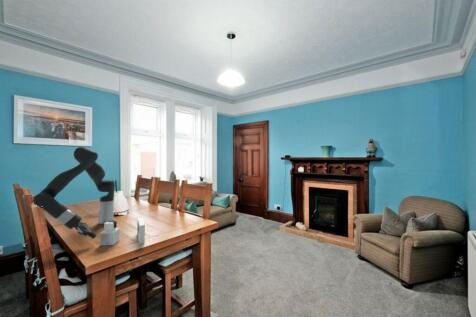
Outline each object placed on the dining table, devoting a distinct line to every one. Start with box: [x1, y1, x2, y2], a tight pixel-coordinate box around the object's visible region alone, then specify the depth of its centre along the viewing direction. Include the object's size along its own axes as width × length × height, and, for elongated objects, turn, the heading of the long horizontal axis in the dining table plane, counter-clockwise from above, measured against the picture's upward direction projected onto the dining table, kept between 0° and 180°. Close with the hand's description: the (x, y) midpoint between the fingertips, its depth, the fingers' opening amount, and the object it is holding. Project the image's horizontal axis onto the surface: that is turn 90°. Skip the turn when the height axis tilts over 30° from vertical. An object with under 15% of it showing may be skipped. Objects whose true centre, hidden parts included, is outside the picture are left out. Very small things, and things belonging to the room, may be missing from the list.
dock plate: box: [136, 217, 146, 245], centre depth 137 cm, size 3×18×11 cm, turn 29°
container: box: [99, 220, 121, 246], centre depth 129 cm, size 8×8×13 cm
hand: (95, 236), depth 125 cm, fingers closed
